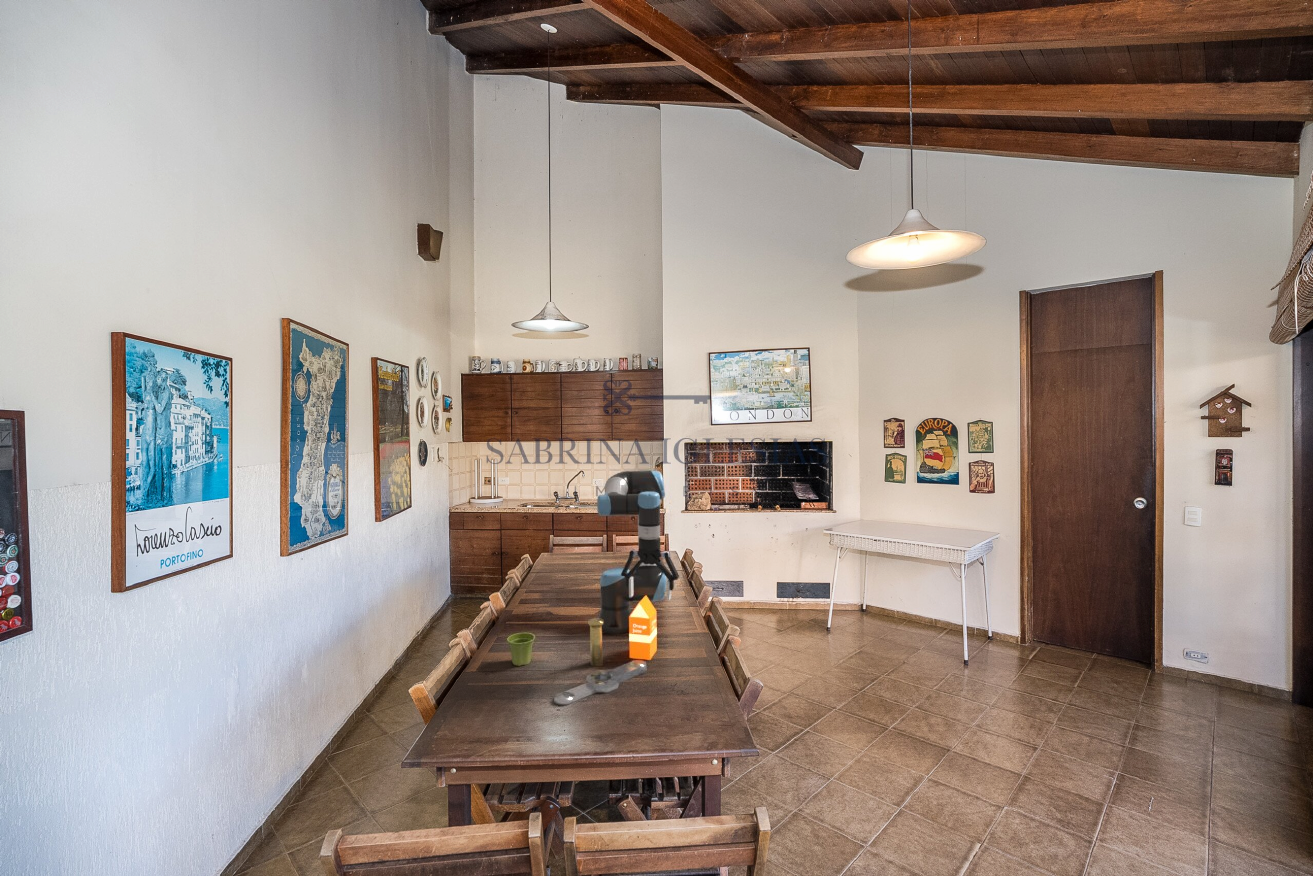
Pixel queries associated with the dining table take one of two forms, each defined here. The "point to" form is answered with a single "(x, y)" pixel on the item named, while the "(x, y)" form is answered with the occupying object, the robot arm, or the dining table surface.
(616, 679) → the metal spinner bar
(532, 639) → the plant pot
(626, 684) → the dining table surface
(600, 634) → the pin
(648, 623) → the orange juice
